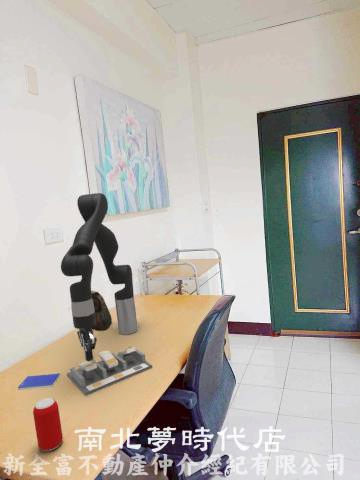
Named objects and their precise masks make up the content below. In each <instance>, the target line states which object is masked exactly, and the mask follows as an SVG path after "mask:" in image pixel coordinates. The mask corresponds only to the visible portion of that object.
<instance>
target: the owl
mask: <svg viewBox="0 0 360 480" xmlns="http://www.w3.org/2000/svg"><path fill="white" fill-rule="evenodd" d="M91 293H92V300H93V303H94V310H95V318H96V324H95V325H93V326H92V330H93V331H95V332H101V331H107V330H108V329H109V328H110V326H111V325H112V324H113V321H112V320H113V319H112V316H111V313H110V309H109V307H108V306H107V303H106V302H105V299H104V297H103V295H102V294H101V293H99V291H95V290H91Z"/></svg>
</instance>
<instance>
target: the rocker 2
mask: <svg viewBox="0 0 360 480" xmlns="http://www.w3.org/2000/svg"><path fill="white" fill-rule="evenodd" d="M130 347H131V348H129V347H128V348H126V349H123V350H121V351H118V352H117V355H119V356H121V355H123V356H125V355H128V354H130V353H132V352H133V351H136V346H130Z"/></svg>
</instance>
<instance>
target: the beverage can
mask: <svg viewBox="0 0 360 480" xmlns="http://www.w3.org/2000/svg"><path fill="white" fill-rule="evenodd" d="M32 415H33V421H34V429H35V434H36V439H37V447H38V448H39V450H40V451H43V452H51V451H53V450H55V449H57V448H58V447H59V446H60V445H61V444H62V443H63V439H64V437H63V435H64V434H63V430H62V423H61V416H60V410H59V404H58V402H57V401H56V400H55V399H54V398H53V397H47V398H42V399H40V400H39V401H37V402H36V403H35V405H34V407H33V411H32ZM50 449H51V450H50Z"/></svg>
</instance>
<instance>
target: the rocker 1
mask: <svg viewBox="0 0 360 480" xmlns="http://www.w3.org/2000/svg"><path fill="white" fill-rule="evenodd" d="M77 365H78V369H82V370H83V371H90V370H92V369H95V368H97V365H96V364H95V363H92V362H91V361H87V360H86V361H84V362H82V363H81V362H80V363H79V364H77Z"/></svg>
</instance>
